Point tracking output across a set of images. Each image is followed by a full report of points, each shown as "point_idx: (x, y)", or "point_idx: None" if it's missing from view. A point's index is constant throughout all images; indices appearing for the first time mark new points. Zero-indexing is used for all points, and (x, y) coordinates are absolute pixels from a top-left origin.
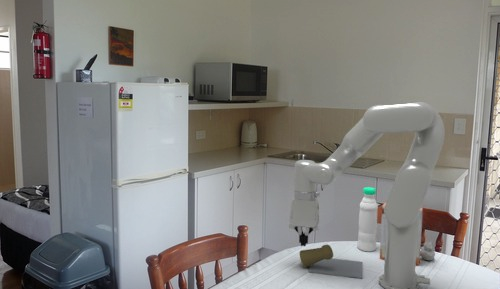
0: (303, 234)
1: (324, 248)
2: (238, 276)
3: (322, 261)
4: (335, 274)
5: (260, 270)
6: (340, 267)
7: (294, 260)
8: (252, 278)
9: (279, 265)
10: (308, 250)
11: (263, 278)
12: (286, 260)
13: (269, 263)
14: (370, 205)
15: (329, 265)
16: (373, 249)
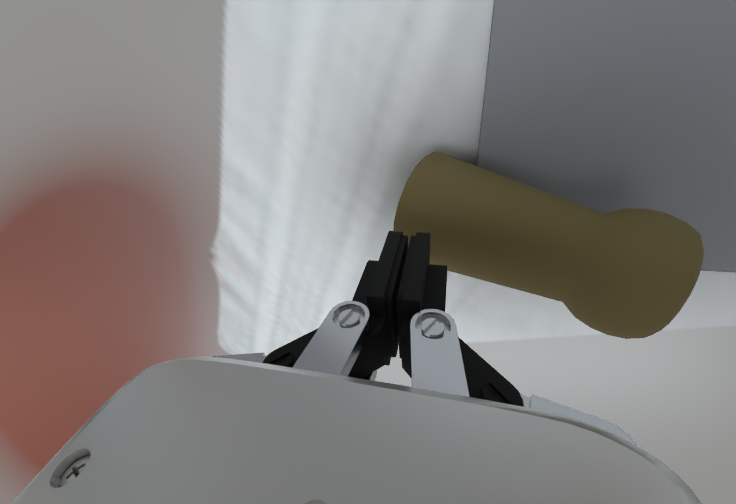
0: (392, 330)
1: (606, 331)
2: (232, 319)
3: (568, 89)
4: None
5: (265, 272)
6: (706, 159)
7: (361, 119)
8: (274, 325)
9: (310, 211)
10: (457, 258)
11: (304, 322)
12: (318, 136)
13: (260, 202)
14: None
15: (615, 148)
16: None
